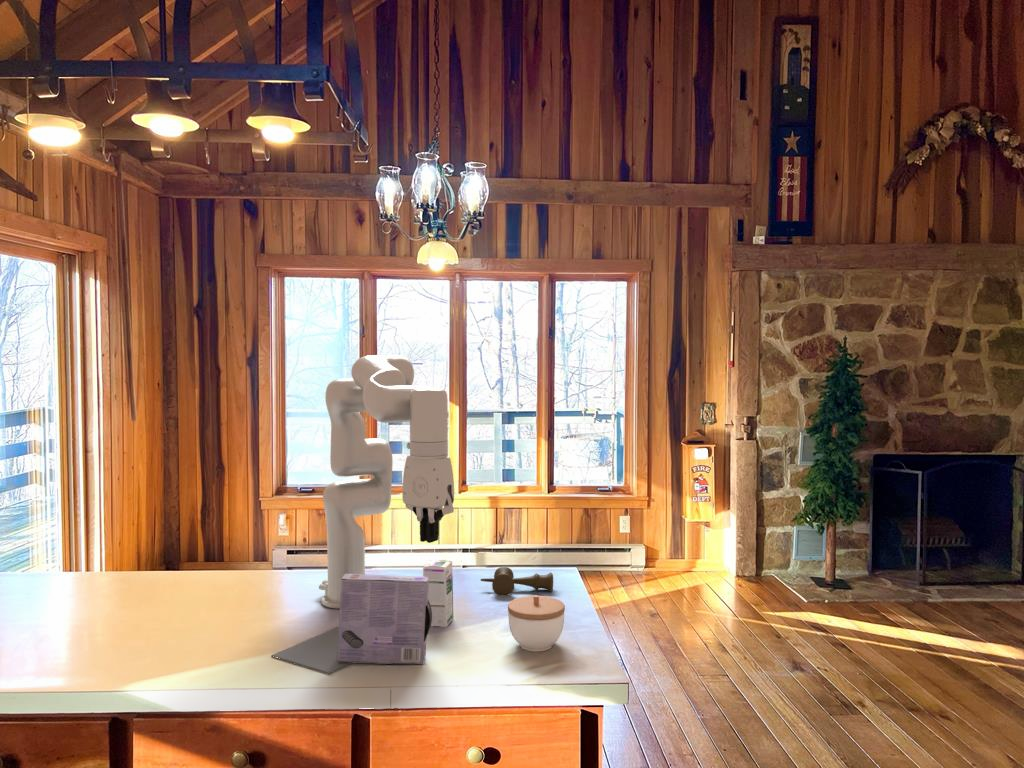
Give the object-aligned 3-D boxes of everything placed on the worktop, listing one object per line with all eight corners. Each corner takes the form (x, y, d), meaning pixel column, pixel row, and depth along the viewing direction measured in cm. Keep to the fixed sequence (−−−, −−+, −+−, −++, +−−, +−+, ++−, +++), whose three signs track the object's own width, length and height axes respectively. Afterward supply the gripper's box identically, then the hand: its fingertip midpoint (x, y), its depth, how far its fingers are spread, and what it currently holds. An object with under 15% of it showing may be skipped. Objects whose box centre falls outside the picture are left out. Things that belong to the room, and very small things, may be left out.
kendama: (553, 598, 201) (479, 595, 201) (552, 588, 210) (480, 585, 210) (554, 575, 201) (479, 573, 201) (552, 566, 210) (481, 564, 210)
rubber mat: (271, 656, 160) (271, 655, 160) (345, 625, 179) (344, 623, 179) (329, 674, 151) (329, 672, 151) (400, 639, 170) (400, 637, 170)
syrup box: (447, 627, 177) (446, 566, 177) (423, 626, 178) (422, 565, 178) (453, 619, 183) (453, 560, 182) (430, 617, 184) (430, 559, 183)
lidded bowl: (548, 661, 158) (549, 609, 157) (497, 649, 164) (497, 599, 164) (574, 641, 169) (574, 592, 168) (524, 631, 175) (524, 584, 175)
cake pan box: (431, 655, 161) (433, 574, 160) (429, 665, 156) (431, 581, 155) (341, 653, 160) (342, 572, 159) (336, 663, 155) (337, 579, 154)
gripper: (387, 449, 151) (387, 539, 152) (448, 454, 143) (449, 550, 144) (410, 445, 157) (411, 532, 158) (471, 450, 149) (471, 541, 150)
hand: (429, 540), depth 151 cm, fingers closed
